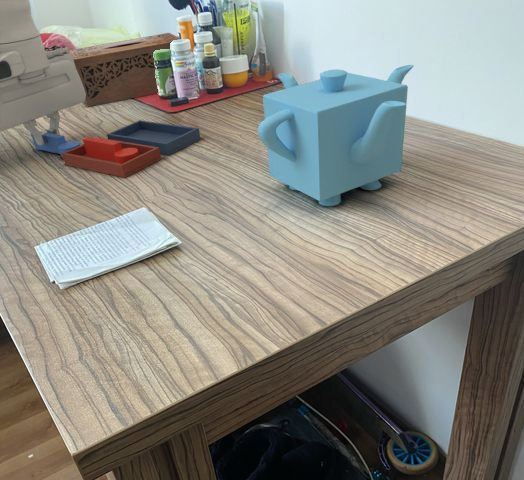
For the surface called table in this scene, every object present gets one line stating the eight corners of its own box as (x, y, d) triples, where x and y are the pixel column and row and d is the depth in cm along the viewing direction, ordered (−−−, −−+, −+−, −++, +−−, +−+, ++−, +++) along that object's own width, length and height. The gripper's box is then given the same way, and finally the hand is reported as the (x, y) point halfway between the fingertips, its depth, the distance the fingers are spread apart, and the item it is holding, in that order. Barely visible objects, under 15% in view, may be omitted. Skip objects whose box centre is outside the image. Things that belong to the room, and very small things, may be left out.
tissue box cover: (177, 75, 138) (169, 32, 131) (191, 86, 127) (183, 39, 121) (81, 94, 132) (67, 50, 125) (87, 106, 121) (73, 59, 115)
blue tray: (109, 145, 97) (106, 134, 96) (141, 130, 102) (139, 120, 101) (168, 155, 90) (166, 143, 88) (200, 139, 95) (199, 128, 93)
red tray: (65, 164, 91) (61, 153, 90) (102, 148, 96) (99, 137, 95) (125, 177, 83) (121, 165, 82) (161, 159, 89) (159, 147, 87)
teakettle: (258, 214, 68) (245, 95, 59) (283, 161, 82) (276, 58, 72) (404, 215, 64) (415, 87, 55) (405, 159, 78) (414, 49, 68)
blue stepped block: (30, 151, 98) (24, 135, 96) (47, 144, 101) (42, 128, 99) (70, 159, 92) (64, 142, 90) (87, 152, 95) (82, 135, 93)
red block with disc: (82, 158, 91) (76, 141, 89) (99, 151, 94) (94, 134, 92) (128, 168, 85) (123, 149, 83) (145, 159, 88) (141, 141, 86)
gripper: (57, 45, 95) (81, 122, 104) (-45, 72, 83) (-8, 157, 92) (79, 45, 92) (102, 125, 101) (-24, 74, 80) (12, 162, 89)
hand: (49, 141), depth 96 cm, fingers closed on blue stepped block
